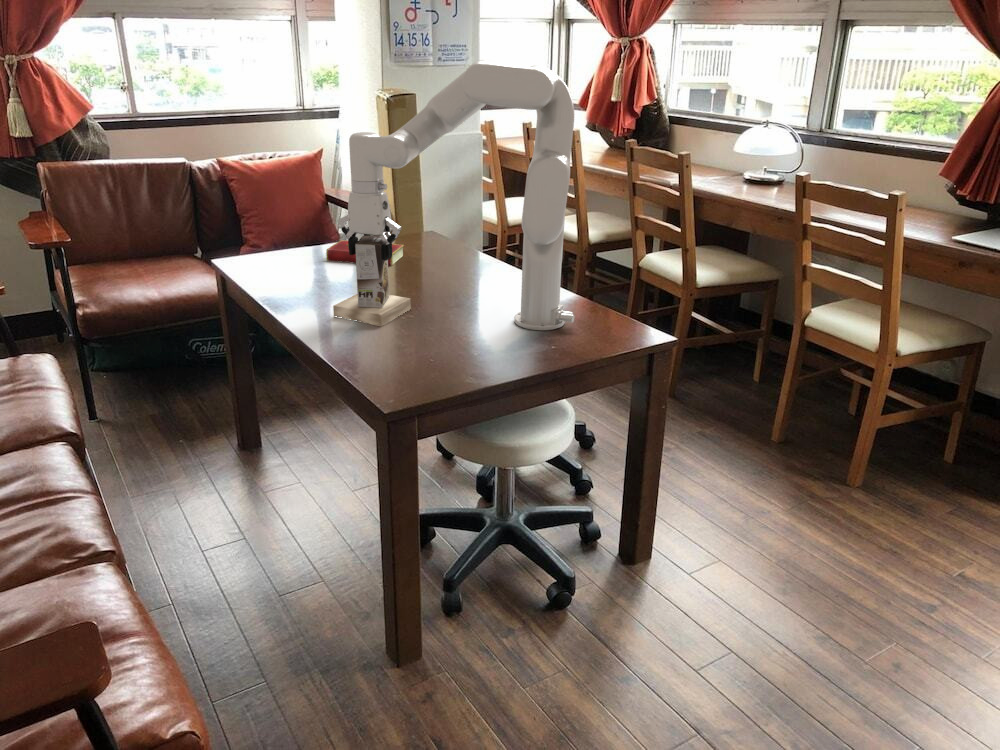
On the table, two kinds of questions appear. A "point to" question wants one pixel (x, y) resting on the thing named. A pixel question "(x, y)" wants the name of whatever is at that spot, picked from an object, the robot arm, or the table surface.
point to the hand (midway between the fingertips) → (370, 256)
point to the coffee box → (371, 272)
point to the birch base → (372, 310)
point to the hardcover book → (342, 254)
